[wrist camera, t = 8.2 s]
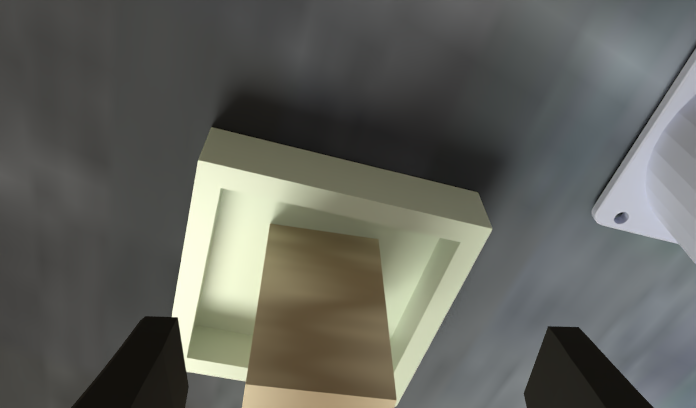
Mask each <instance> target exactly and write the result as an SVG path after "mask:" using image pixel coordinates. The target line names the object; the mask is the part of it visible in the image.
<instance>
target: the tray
mask: <svg viewBox="0 0 696 408" xmlns="http://www.w3.org/2000/svg"><path fill="white" fill-rule="evenodd" d="M270 224H277V225H284V226H291V227H298V228H305V229H312V230H319V231H326V232H333V233H339V234H346V235H353V236H360V237H367V238H374V239H378V240H379V249H380V257H381V266H382V275H383V284H384V293H385V301H386V310H387V319H388V328H389V336H390V345H391V354H392V363H393V371H394V380H395V389H396V398H397V401H396V404H395V406H397V404H398V402H399V401H400V399H401V397H402V395H403V393H404V391H405V390H406V388H407V386H408V384H409V382H410V380H411V379H412V377H413V375H414V373H415V371H416V369H417V367H418V366H419V364H420V362H421V360H422V358H423V356H424V355H425V353H426V351H427V349H428V347H429V345H430V343H431V342H432V340H433V338H434V336H435V334H436V332H437V331H438V329H439V327H440V325H441V323H442V321H443V319H444V318H445V316H446V314H447V312H448V310H449V308H450V307H451V305H452V303H453V301H454V299H455V297H456V295H457V294H458V292H459V290H460V288H461V286H462V284H463V283H464V281H465V279H466V277H467V275H468V273H469V271H470V270H471V268H472V266H473V264H474V262H475V260H476V259H477V257H478V255H479V253H480V251H481V249H482V248H483V246H484V244H485V242H486V240H487V238H488V236H489V235H490V233H491V231H492V226H491V224H490V221H489V219H488V216H487V214H486V211H485V209H484V206H483V204H482V201H481V198H480V196H479V193H478V192H474V191H470V190H466V189H462V188H458V187H454V186H450V185H446V184H442V183H437V182H433V181H429V180H425V179H421V178H417V177H413V176H409V175H405V174H401V173H397V172H393V171H389V170H384V169H380V168H376V167H372V166H368V165H364V164H360V163H356V162H352V161H348V160H344V159H340V158H336V157H331V156H327V155H323V154H319V153H315V152H311V151H307V150H303V149H299V148H295V147H291V146H287V145H283V144H278V143H274V142H270V141H266V140H262V139H258V138H254V137H250V136H246V135H242V134H238V133H234V132H230V131H225V130H221V129H217V128H213V127H211V129H210V131H209V134H208V137H207V139H206V142H205V144H204V147H203V149H202V152H201V154H200V157H199V159H198V164H197V170H196V176H195V182H194V188H193V194H192V200H191V206H190V212H189V218H188V223H187V229H186V235H185V241H184V247H183V253H182V259H181V265H180V271H179V277H178V283H177V289H176V294H175V300H174V306H173V312H172V317H178V322H179V328H180V335H181V341H182V348H183V354H184V361H185V367H186V372H192V373H198V374H204V375H210V376H216V377H222V378H228V379H234V380H240V381H246V378H247V371H248V365H249V358H250V352H251V345H252V339H253V332H254V325H255V319H256V312H257V306H258V299H259V293H260V286H261V279H262V273H263V266H264V260H265V253H266V247H267V240H268V233H269V227H270Z"/></svg>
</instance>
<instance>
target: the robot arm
mask: <svg viewBox="0 0 696 408" xmlns="http://www.w3.org/2000/svg"><path fill="white" fill-rule="evenodd" d="M621 212H624V213H623V214H622V215H621V216H619V217H617V218H615V216H616V215H617V214H619V213H621ZM592 216H593V217H594V219H595V220H596V222H597V223H598V224H600V225H603V226H607V227H611V228H615V229H619V230H623V231H628V232H632V233H636V234H640V235H644V236H648V237H652V238H656V239H660V240H664V241H669V242H673V243H677V244H679V245H680V246H681V247H682V248H683V249H684V251H685V252H686V253H687V254H688V255H689V257H690V258H691V259H692V260H693V262H694V263H695V264H696V49H695V50H694V52H693V53H692V55H691V57H690V58H689V60H688V61H687V63H686V64H685V66H684V67H683V69H682V70H681V72H680V74H679V75H678V77H677V78H676V80H675V81H674V83H673V84H672V86H671V87H670V89H669V91H668V92H667V94H666V95H665V97H664V98H663V100H662V101H661V103H660V104H659V106H658V108H657V109H656V111H655V112H654V114H653V115H652V117H651V118H650V120H649V121H648V123H647V125H646V126H645V128H644V129H643V131H642V132H641V134H640V135H639V137H638V138H637V140H636V142H635V143H634V145H633V146H632V148H631V149H630V151H629V152H628V154H627V155H626V157H625V159H624V160H623V162H622V163H621V165H620V166H619V168H618V169H617V171H616V172H615V174H614V176H613V177H612V179H611V180H610V182H609V183H608V185H607V186H606V188H605V189H604V191H603V193H602V194H601V196H600V197H599V199H598V200H597V202H596V203H595V205H594V206H593V209H592ZM187 393H188V380H187V374H186V367H185V361H184V354H183V348H182V341H181V335H180V328H179V322H178V317H150V316H145V317H144V318H143V319H142V320H140V322H139V323H138V324H137V326H136V327H135V328H134V330H133V331H132V332H131V334H130V335H129V336H128V338H127V339H126V340H125V342H124V343H123V344H122V346H121V347H120V348H119V350H118V351H117V352H116V354H115V355H114V356H113V357H112V359H111V360H110V361H109V362H108V364H107V365H106V366H105V368H104V369H103V370H102V371H101V373H100V374H99V375H98V376H97V378H96V379H95V380H94V381H93V382H92V384H91V385H90V386H89V387H88V388H87V390H86V391H85V392H84V393H83V394H82V395H81V397H80V398H79V399H78V400H77V401H76V403H75V404H74V405H73V406H72V407H71V408H185V404H186V399H187ZM524 396H525V401H526V406H527V408H653V406H652V405H651V404H650V403H649V402H648V401H647V400H646V399H645V398H644V397H643V396H642V395H641V394H640V393H639V392H638V391H637V390H636V389H635V388H634V386H633V385H632V384H631V383H630V382H629V381H628V380H627V379H626V378H625V377H624V376H623V375H622V374H621V372H620V371H619V370H618V369H617V368H616V367H615V366H614V365H613V364H612V363H611V362H610V361H609V359H608V358H607V357H606V356H605V355H604V354H603V353H602V352H601V351H600V350H599V349H598V347H597V346H596V345H595V344H594V343H593V342H592V341H591V340H590V339H589V338H588V337H587V336H586V335H585V333H584V332H583V331H582V330H581V329H580V328H579V327H550V326H548V328H547V331H546V334H545V337H544V339H543V342H542V345H541V348H540V350H539V353H538V356H537V359H536V361H535V364H534V367H533V370H532V372H531V375H530V378H529V381H528V383H527V386H526V389H525V392H524Z"/></svg>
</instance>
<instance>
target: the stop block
mask: <svg viewBox="0 0 696 408" xmlns="http://www.w3.org/2000/svg"><path fill="white" fill-rule="evenodd" d="M396 401H397V398H396V389H395V380H394V371H393V363H392V354H391V345H390V336H389V328H388V319H387V310H386V301H385V293H384V284H383V275H382V266H381V257H380V249H379V240H378V239H374V238H367V237H360V236H353V235H346V234H339V233H333V232H326V231H319V230H312V229H305V228H298V227H291V226H284V225H277V224H270V227H269V233H268V240H267V247H266V253H265V260H264V266H263V273H262V279H261V286H260V293H259V299H258V306H257V312H256V319H255V325H254V332H253V339H252V345H251V352H250V358H249V365H248V371H247V378H246V385H245V391H244V398H243V405H242V408H394V406H395V404H396Z"/></svg>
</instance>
